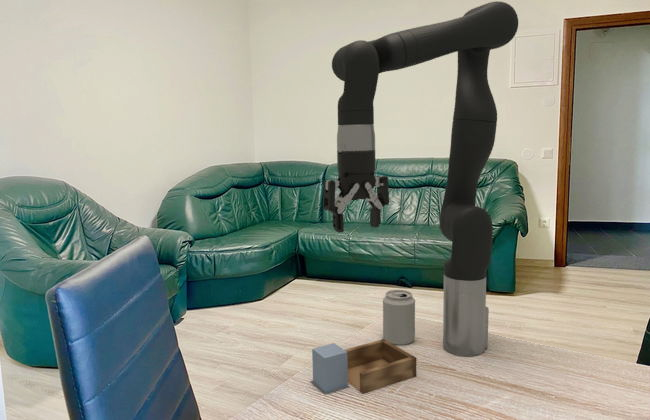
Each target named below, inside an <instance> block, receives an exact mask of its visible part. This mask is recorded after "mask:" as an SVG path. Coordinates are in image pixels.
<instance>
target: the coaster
mask: <svg viewBox="0 0 650 420" xmlns="http://www.w3.org/2000/svg"><path fill="white" fill-rule="evenodd" d="M310 383H311V384H312V385H313V386H314V387H315V388H316V389H317V390H319V391H320V392H321V393H322V394H323V395H324V396H326V395H329V394H333V393H336V392H339V391H342V390H344V389H347V388H348V389H349V388H350V386H349V385H348V386H346V387H343V388H340V389H337V390H333V391H330V392H327V393H325V392H324V391H323V390H322V389H321V388H319V387H318V386H317V385H316V384H315V383H314V382H313V380H311V381H310Z"/></svg>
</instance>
